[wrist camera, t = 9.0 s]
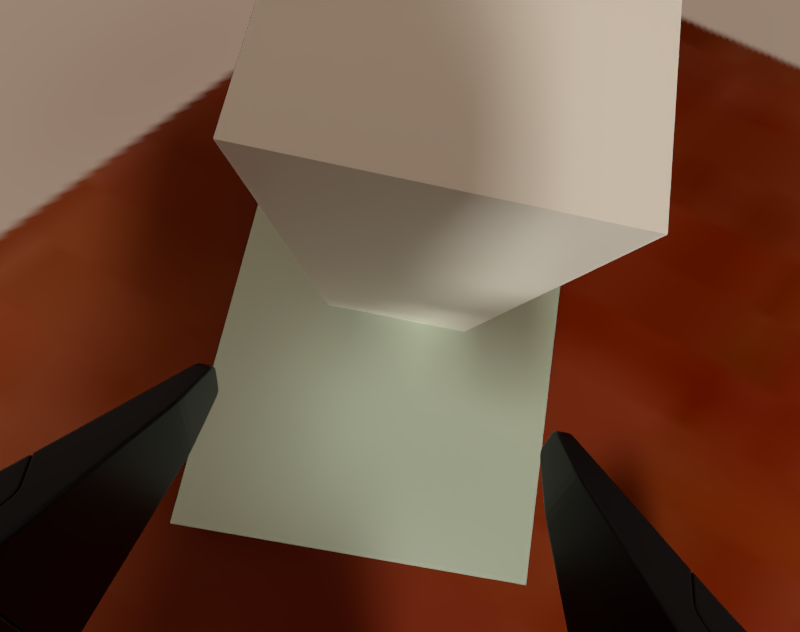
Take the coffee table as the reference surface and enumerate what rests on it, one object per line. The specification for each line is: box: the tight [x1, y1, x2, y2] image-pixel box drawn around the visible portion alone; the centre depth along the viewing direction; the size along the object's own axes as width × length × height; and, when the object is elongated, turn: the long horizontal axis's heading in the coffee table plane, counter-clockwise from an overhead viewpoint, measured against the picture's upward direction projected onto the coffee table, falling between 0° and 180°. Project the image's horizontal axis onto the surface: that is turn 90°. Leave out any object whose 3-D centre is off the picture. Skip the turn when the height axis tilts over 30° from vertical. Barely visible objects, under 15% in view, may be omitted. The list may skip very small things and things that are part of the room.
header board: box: [170, 204, 560, 585], centre depth 14 cm, size 18×14×5 cm
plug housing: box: [213, 0, 682, 332], centre depth 10 cm, size 5×6×11 cm
